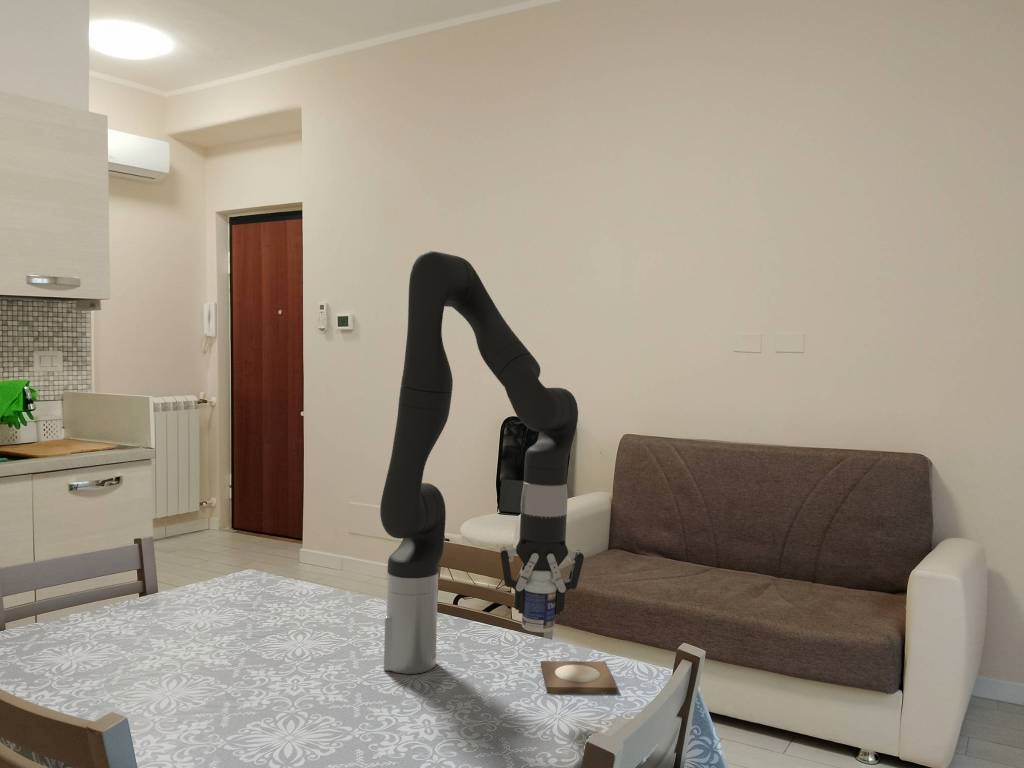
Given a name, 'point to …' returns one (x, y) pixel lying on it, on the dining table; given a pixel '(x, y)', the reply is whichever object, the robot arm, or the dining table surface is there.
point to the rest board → (577, 677)
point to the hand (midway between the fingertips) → (538, 612)
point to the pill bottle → (539, 602)
